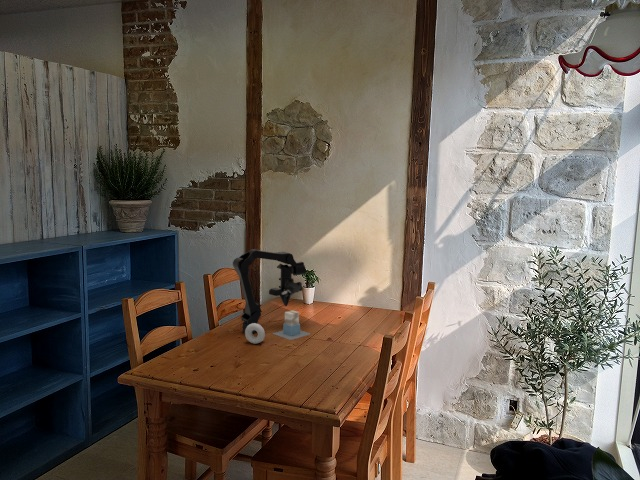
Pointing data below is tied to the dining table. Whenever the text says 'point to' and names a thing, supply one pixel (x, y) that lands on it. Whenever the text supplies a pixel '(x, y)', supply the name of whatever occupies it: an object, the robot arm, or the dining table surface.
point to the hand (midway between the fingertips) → (285, 305)
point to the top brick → (291, 318)
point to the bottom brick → (291, 329)
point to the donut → (259, 330)
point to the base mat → (291, 336)
